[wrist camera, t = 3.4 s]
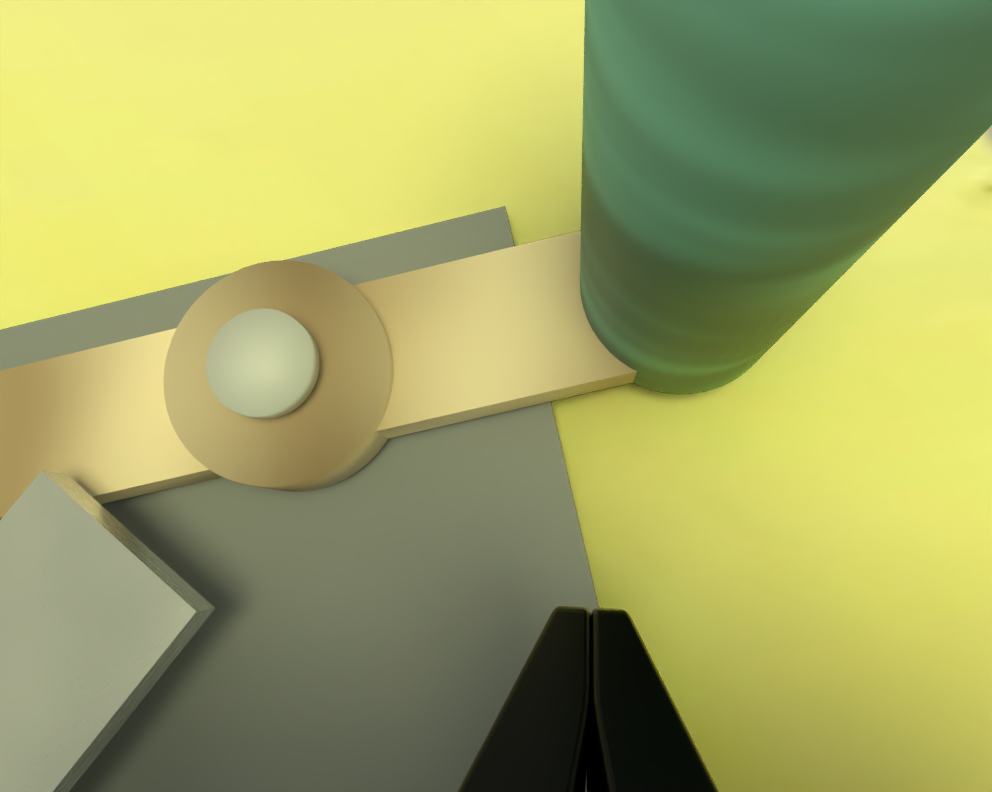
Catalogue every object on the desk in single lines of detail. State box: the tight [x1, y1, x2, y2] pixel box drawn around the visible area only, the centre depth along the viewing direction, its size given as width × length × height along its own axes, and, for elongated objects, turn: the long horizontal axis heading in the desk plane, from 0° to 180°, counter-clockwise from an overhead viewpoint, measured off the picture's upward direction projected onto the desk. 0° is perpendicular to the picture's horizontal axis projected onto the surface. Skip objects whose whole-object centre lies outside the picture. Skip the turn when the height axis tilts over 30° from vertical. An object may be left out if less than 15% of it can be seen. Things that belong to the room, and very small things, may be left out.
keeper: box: [0, 471, 215, 792], centre depth 14 cm, size 6×4×2 cm, turn 142°
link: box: [0, 0, 992, 520], centre depth 9 cm, size 18×4×13 cm, turn 102°
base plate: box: [0, 206, 599, 792], centre depth 14 cm, size 18×14×3 cm
